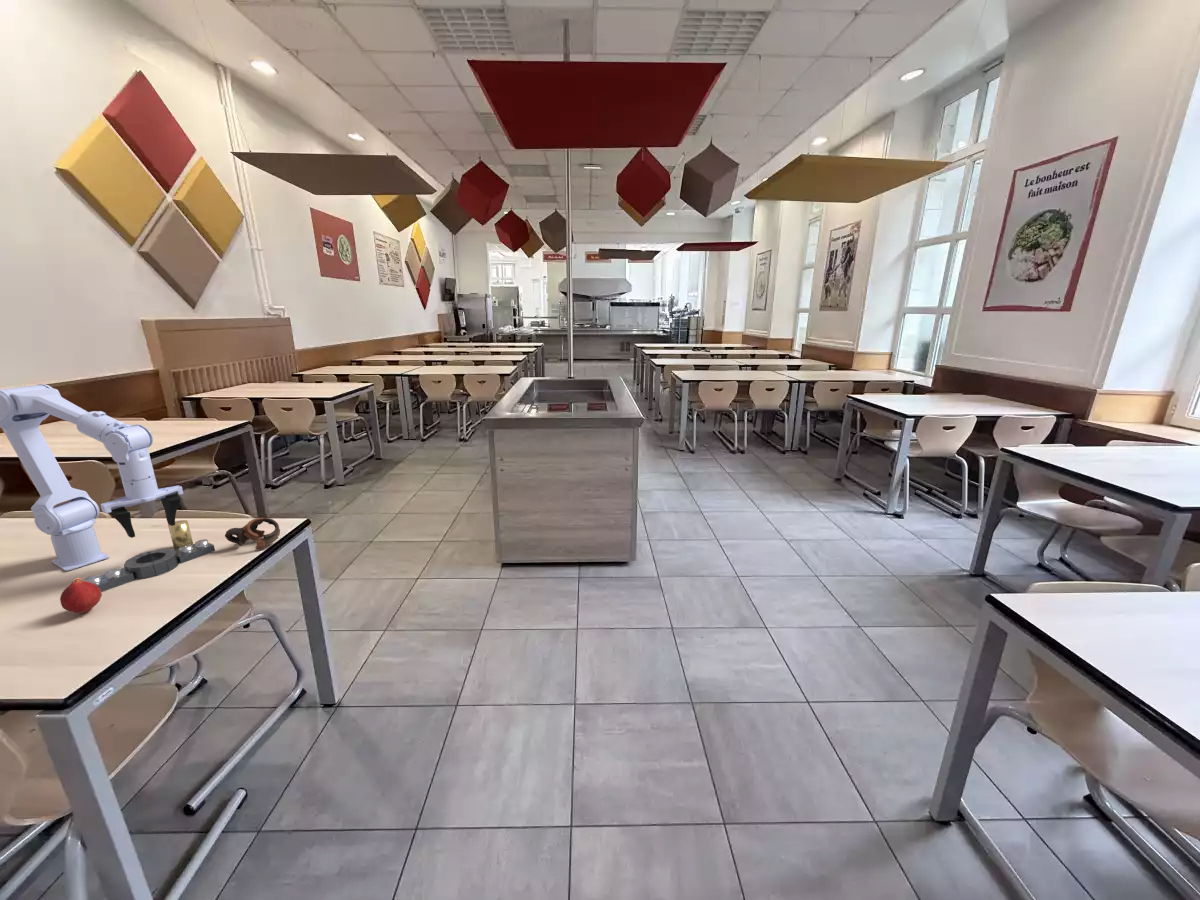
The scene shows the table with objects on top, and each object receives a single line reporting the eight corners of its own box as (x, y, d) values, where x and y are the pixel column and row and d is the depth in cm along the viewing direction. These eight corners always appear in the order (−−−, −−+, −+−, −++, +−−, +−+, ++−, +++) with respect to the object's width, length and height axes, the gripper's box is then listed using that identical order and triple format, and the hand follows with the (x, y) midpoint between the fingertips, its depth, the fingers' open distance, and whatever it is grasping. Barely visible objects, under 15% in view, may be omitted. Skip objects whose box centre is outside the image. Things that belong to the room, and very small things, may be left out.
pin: (171, 548, 129) (165, 524, 127) (189, 542, 133) (183, 519, 131) (178, 552, 127) (172, 527, 125) (196, 546, 131) (190, 522, 129)
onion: (79, 622, 99) (68, 588, 96) (58, 619, 100) (46, 584, 97) (112, 606, 104) (102, 573, 102) (91, 603, 105) (81, 570, 103)
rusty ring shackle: (274, 534, 139) (280, 513, 136) (278, 559, 134) (284, 538, 130) (222, 535, 131) (227, 514, 128) (223, 563, 126) (228, 541, 122)
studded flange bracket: (78, 586, 111) (74, 575, 110) (201, 544, 131) (199, 534, 131) (95, 598, 107) (91, 586, 106) (219, 553, 127) (217, 542, 126)
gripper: (103, 489, 106) (119, 546, 110) (183, 471, 118) (195, 523, 122) (91, 484, 110) (107, 538, 113) (170, 467, 122) (182, 517, 125)
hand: (152, 530), depth 118 cm, fingers open, 7 cm apart
